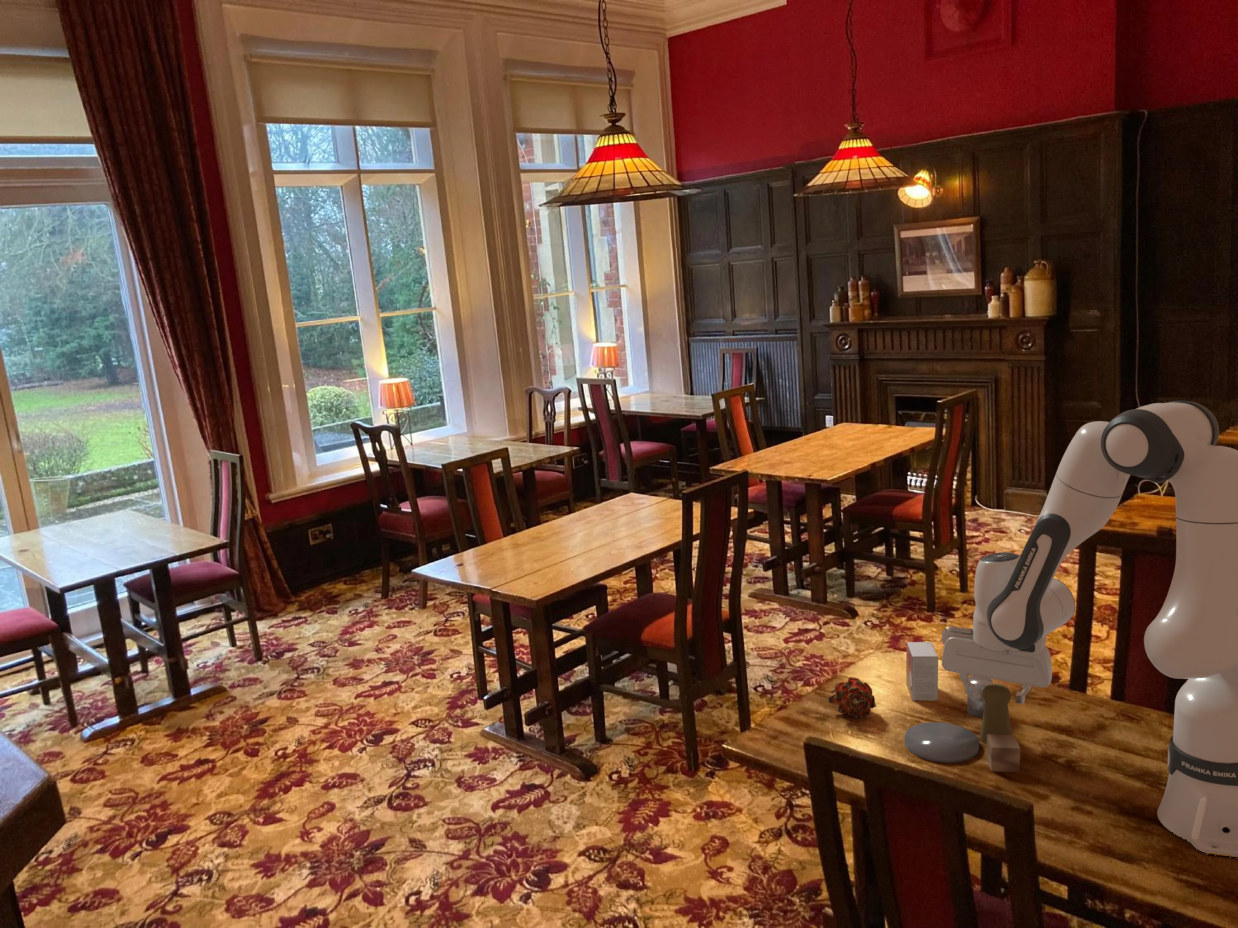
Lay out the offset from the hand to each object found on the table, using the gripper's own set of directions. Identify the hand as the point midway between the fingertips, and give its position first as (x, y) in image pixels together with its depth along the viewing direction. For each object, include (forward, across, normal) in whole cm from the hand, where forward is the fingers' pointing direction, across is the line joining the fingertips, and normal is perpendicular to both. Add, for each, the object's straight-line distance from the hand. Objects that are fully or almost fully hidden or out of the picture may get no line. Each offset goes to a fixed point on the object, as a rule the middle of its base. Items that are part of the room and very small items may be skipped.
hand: (994, 697), depth 192 cm
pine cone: (+9, -28, -2) cm, 30 cm away
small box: (+9, -17, +14) cm, 24 cm away
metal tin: (+9, -4, +10) cm, 14 cm away
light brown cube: (+8, +4, -10) cm, 14 cm away
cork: (+9, +1, 0) cm, 9 cm away
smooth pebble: (+8, -8, -8) cm, 14 cm away
